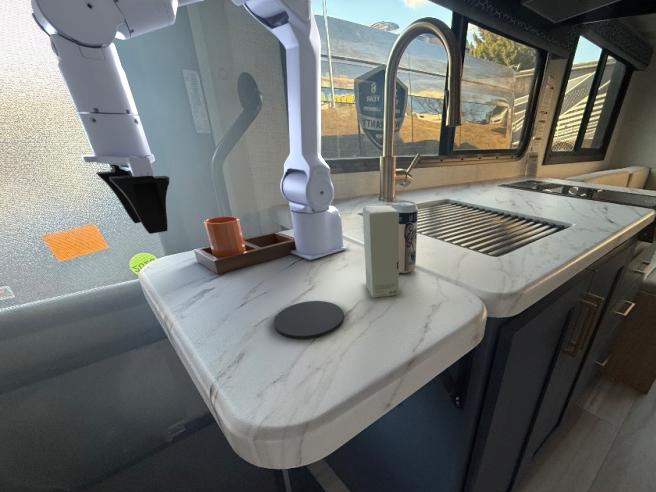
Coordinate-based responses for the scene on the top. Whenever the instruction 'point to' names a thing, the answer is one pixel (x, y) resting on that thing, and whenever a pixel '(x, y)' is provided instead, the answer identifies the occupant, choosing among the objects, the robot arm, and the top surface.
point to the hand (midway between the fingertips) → (150, 226)
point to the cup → (224, 236)
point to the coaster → (308, 319)
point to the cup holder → (248, 252)
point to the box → (381, 250)
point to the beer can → (407, 234)
